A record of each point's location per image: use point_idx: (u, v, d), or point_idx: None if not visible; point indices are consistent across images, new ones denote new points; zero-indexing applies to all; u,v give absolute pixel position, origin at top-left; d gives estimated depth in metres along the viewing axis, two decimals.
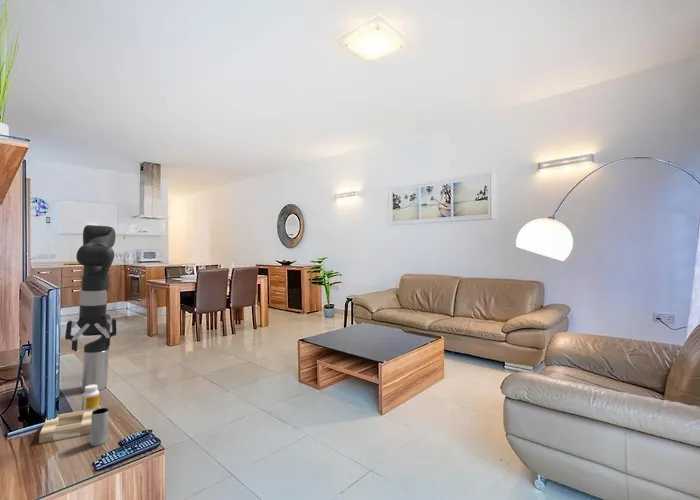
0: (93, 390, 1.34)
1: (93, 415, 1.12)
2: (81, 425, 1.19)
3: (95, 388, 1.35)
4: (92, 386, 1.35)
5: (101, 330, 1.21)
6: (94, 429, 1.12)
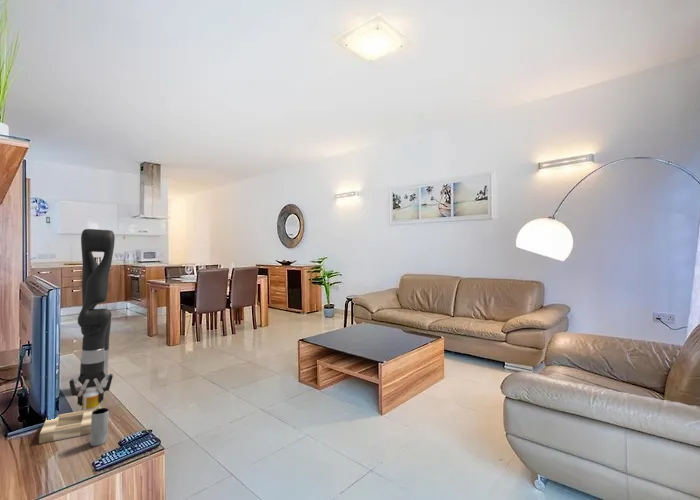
0: (93, 390, 1.34)
1: (93, 415, 1.12)
2: (81, 425, 1.19)
3: (95, 388, 1.35)
4: (92, 386, 1.35)
5: (97, 385, 1.35)
6: (94, 429, 1.12)
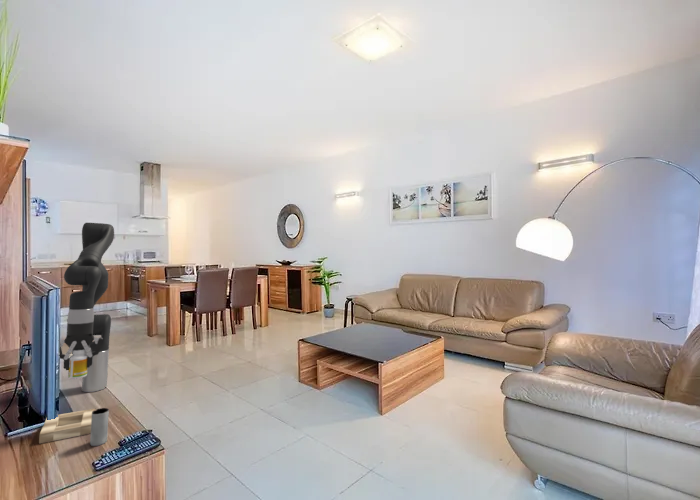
0: (81, 353, 1.24)
1: (93, 415, 1.12)
2: (81, 425, 1.19)
3: (83, 351, 1.25)
4: None
5: (86, 348, 1.25)
6: (94, 429, 1.12)
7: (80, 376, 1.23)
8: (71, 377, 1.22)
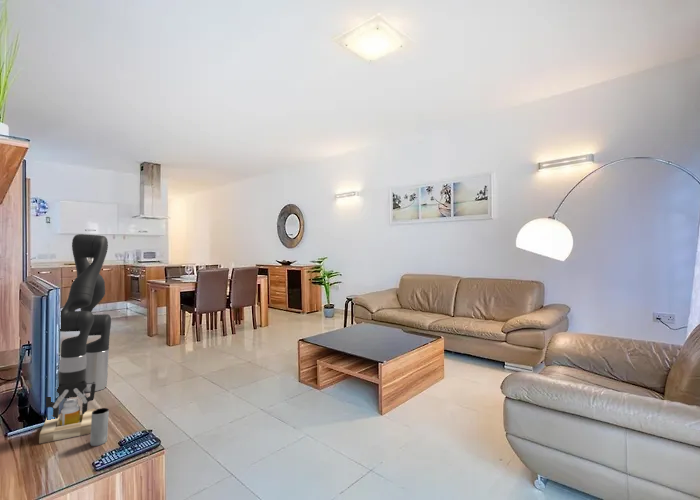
0: (73, 405, 1.21)
1: (93, 415, 1.12)
2: (81, 425, 1.19)
3: (75, 403, 1.22)
4: (72, 401, 1.22)
5: (79, 395, 1.22)
6: (94, 429, 1.12)
7: None
8: None
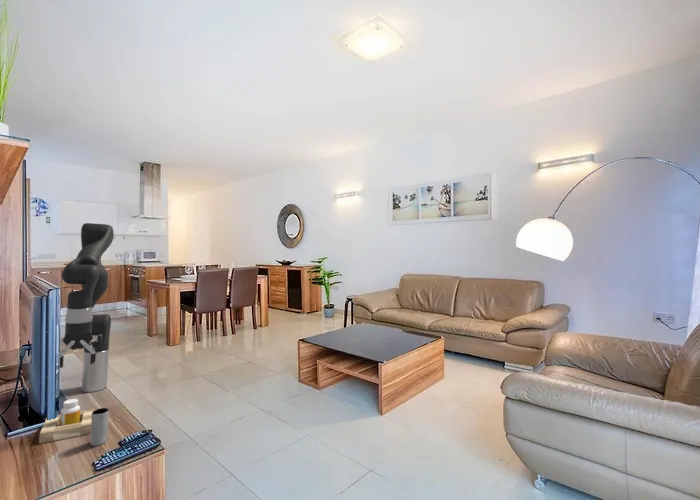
0: (73, 405, 1.21)
1: (93, 415, 1.12)
2: (81, 425, 1.19)
3: (75, 403, 1.22)
4: (72, 401, 1.22)
5: (86, 346, 1.24)
6: (94, 429, 1.12)
7: None
8: None
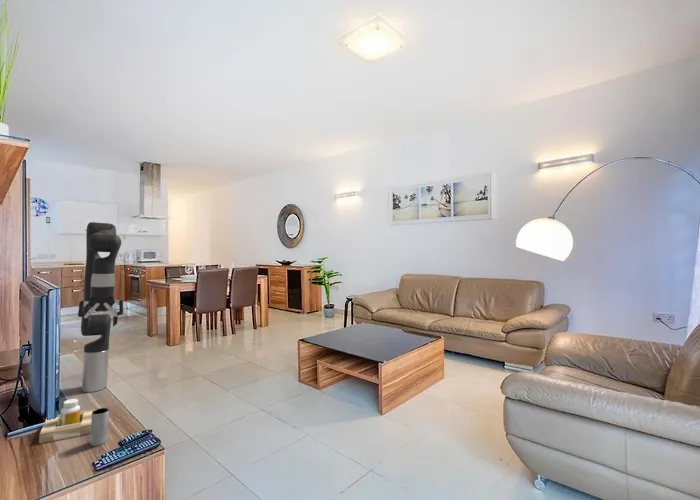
0: (73, 405, 1.21)
1: (93, 415, 1.12)
2: (81, 425, 1.19)
3: (75, 403, 1.22)
4: (72, 401, 1.22)
5: (109, 309, 1.35)
6: (94, 429, 1.12)
7: None
8: None
